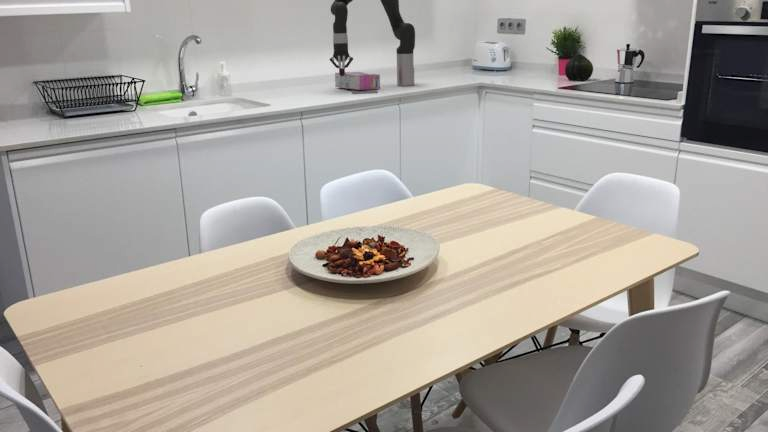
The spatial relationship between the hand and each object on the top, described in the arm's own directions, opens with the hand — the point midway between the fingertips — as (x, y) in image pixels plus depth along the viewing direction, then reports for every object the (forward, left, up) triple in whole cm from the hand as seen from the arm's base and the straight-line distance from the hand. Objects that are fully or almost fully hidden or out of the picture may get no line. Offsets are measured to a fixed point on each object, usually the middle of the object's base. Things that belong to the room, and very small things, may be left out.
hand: (342, 75), depth 360 cm
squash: (-131, -6, -8) cm, 132 cm away
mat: (-11, 0, -8) cm, 13 cm away
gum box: (-2, -2, -3) cm, 4 cm away
